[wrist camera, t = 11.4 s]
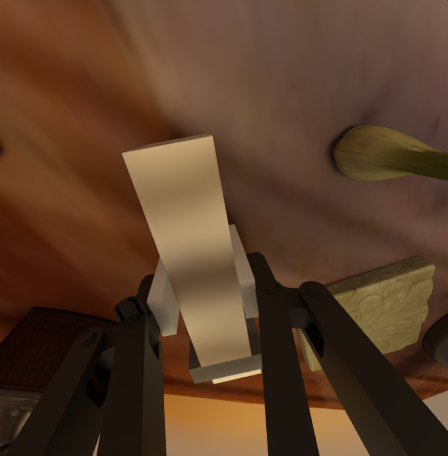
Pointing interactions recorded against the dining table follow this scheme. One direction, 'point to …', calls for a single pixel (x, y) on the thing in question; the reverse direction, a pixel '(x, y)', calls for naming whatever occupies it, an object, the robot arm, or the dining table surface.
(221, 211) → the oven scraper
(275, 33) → the dining table surface
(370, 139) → the fennel bulb
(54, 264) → the dining table surface
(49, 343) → the dark brown crank device
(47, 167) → the dining table surface
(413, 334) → the decorative tile
